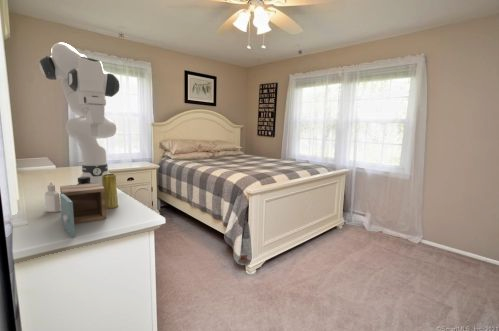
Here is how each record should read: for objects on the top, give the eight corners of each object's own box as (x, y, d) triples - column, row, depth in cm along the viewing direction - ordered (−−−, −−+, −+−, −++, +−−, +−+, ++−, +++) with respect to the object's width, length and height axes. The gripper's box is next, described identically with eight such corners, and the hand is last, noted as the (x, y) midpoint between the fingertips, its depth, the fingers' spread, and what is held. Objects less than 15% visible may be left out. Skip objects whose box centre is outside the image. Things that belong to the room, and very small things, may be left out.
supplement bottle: (97, 203, 120) (95, 177, 118) (80, 206, 115) (78, 179, 113) (90, 200, 124) (88, 175, 122) (74, 203, 119) (72, 177, 117)
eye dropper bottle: (47, 213, 104) (45, 184, 103) (45, 210, 108) (43, 181, 107) (61, 211, 108) (58, 182, 106) (58, 208, 111) (56, 180, 110)
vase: (111, 209, 112) (109, 176, 110) (99, 208, 113) (97, 175, 111) (121, 205, 118) (119, 173, 116) (109, 204, 119) (107, 173, 117)
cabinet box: (62, 216, 102) (60, 186, 100) (100, 210, 110) (98, 182, 108) (64, 225, 93) (62, 192, 91) (106, 218, 101) (104, 188, 99)
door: (65, 224, 92) (63, 193, 90) (75, 236, 83) (72, 201, 81) (58, 226, 90) (55, 194, 89) (67, 238, 81) (64, 203, 80)
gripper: (79, 101, 109) (82, 135, 111) (87, 98, 93) (89, 137, 95) (97, 102, 113) (99, 135, 115) (106, 99, 97) (108, 137, 99)
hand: (94, 136), depth 105 cm, fingers closed
